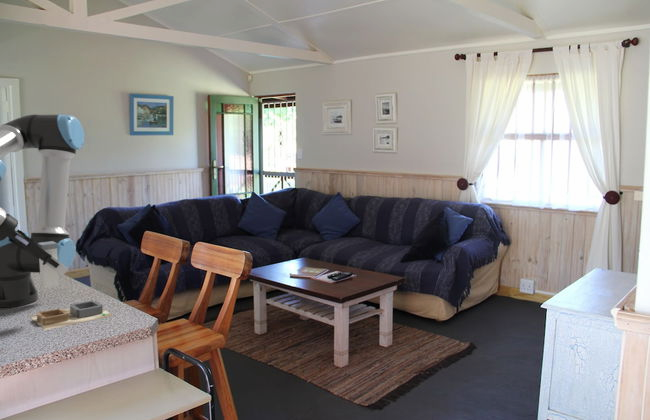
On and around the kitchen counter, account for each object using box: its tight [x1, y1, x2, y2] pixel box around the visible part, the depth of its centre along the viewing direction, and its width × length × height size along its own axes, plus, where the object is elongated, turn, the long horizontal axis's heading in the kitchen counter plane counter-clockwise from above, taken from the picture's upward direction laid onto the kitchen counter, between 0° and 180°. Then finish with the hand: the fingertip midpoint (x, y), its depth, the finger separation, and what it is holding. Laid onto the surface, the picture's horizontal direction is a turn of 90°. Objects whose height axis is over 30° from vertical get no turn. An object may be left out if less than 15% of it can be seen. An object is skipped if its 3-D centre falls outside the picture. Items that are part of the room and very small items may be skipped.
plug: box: [38, 241, 60, 289], centre depth 169 cm, size 4×4×13 cm
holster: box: [36, 308, 69, 325], centre depth 171 cm, size 7×7×2 cm
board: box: [29, 308, 115, 331], centre depth 175 cm, size 16×20×1 cm
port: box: [69, 299, 106, 318], centre depth 177 cm, size 10×8×2 cm
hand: (62, 270), depth 172 cm, fingers closed on plug, 4 cm apart
